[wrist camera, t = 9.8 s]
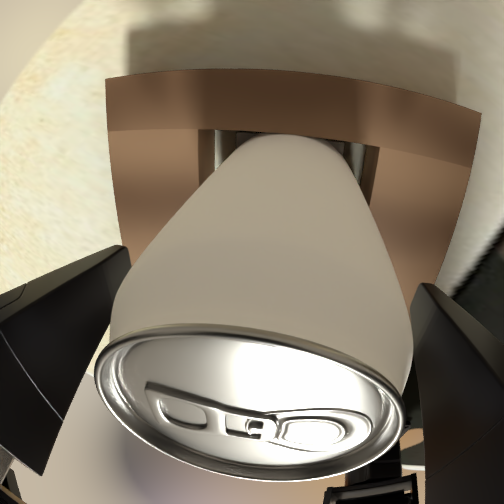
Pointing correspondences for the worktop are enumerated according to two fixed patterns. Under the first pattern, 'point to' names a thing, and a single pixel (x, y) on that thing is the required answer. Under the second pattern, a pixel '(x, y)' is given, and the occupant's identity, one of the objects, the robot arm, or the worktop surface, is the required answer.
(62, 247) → the worktop surface
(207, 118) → the keyhole plate
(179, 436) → the can
